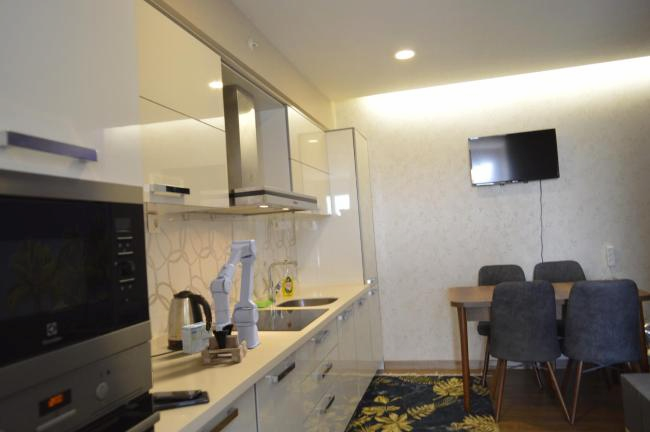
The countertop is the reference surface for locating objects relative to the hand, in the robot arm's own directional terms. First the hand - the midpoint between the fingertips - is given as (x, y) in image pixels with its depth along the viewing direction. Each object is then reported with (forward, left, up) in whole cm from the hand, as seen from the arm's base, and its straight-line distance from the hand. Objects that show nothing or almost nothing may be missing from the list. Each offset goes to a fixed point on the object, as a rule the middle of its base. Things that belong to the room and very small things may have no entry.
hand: (224, 346), depth 178 cm
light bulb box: (-14, -18, -5) cm, 23 cm away
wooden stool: (0, 0, -5) cm, 5 cm away
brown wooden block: (0, 0, -2) cm, 2 cm away
